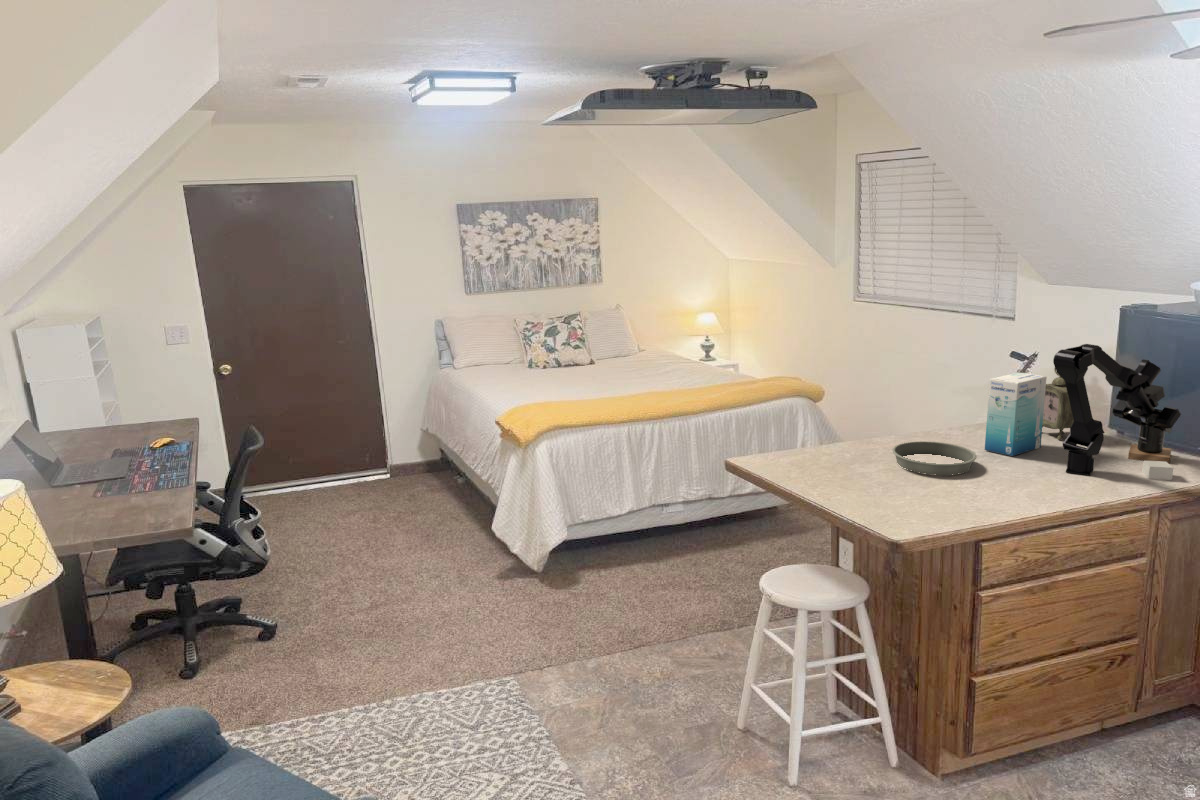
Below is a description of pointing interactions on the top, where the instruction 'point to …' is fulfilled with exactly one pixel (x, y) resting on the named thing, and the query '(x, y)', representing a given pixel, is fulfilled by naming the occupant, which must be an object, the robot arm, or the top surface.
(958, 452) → the cake pan
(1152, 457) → the tan slab
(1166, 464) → the grey block
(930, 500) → the top surface
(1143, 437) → the supplement bottle
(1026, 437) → the toothbrush box
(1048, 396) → the tabletop clock
